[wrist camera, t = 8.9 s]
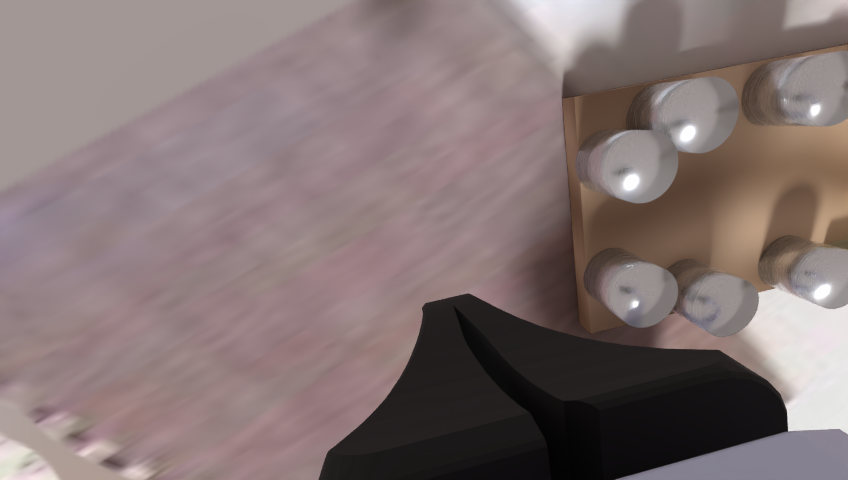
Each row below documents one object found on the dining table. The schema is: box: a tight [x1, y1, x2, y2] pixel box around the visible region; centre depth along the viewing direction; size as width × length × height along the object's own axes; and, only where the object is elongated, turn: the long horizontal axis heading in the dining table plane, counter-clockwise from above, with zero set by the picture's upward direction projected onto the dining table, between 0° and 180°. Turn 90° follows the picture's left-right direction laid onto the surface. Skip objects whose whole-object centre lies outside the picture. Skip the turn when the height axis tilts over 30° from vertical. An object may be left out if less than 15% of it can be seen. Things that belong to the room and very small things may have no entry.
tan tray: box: [562, 44, 848, 334], centre depth 21 cm, size 12×22×3 cm, turn 100°
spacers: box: [575, 51, 848, 337], centre depth 20 cm, size 12×13×3 cm
